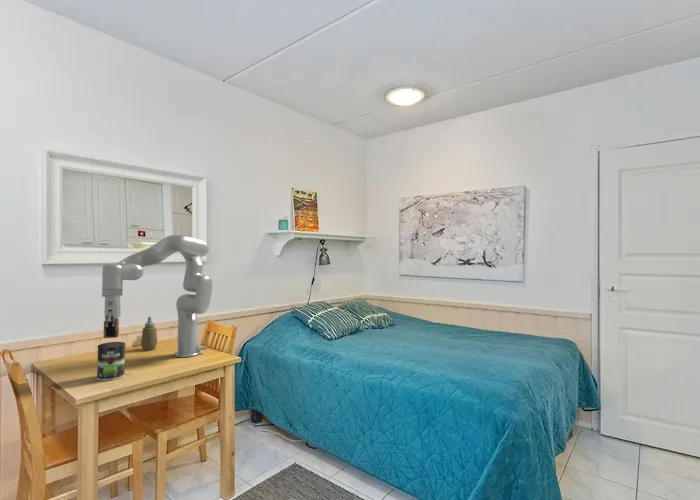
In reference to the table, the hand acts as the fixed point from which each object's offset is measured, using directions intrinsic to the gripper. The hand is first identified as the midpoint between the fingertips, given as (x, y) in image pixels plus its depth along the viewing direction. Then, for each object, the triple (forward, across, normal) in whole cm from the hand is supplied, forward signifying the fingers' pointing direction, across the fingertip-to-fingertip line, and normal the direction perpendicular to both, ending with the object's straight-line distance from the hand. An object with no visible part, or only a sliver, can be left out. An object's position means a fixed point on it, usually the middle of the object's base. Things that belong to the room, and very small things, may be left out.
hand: (111, 334), depth 166 cm
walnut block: (+1, 0, 0) cm, 1 cm away
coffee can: (+19, 0, 0) cm, 19 cm away
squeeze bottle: (+18, +44, -12) cm, 49 cm away
